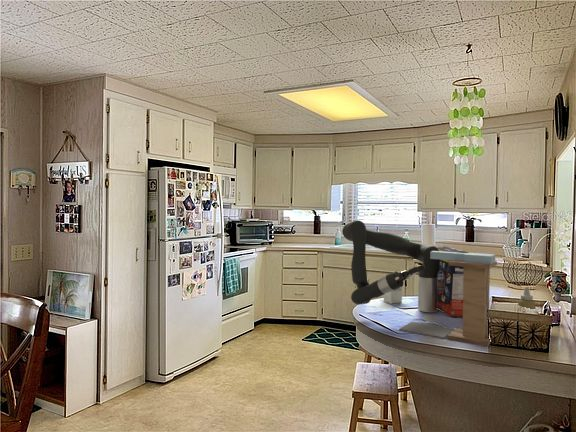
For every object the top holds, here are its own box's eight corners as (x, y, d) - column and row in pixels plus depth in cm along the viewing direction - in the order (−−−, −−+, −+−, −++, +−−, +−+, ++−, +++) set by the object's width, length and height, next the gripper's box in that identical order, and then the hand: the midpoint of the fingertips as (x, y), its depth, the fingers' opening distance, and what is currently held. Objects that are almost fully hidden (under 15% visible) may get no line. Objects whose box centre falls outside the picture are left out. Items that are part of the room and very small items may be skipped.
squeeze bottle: (531, 331, 183) (532, 289, 183) (512, 327, 190) (512, 286, 189) (540, 328, 188) (541, 287, 187) (521, 324, 194) (521, 284, 194)
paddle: (434, 257, 186) (434, 250, 186) (495, 261, 172) (495, 254, 172) (428, 259, 179) (428, 252, 179) (491, 264, 165) (491, 256, 165)
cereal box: (472, 318, 205) (476, 251, 204) (449, 317, 205) (452, 250, 204) (450, 306, 231) (453, 246, 231) (430, 305, 231) (432, 245, 231)
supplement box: (391, 303, 234) (391, 280, 234) (383, 301, 241) (383, 278, 241) (402, 302, 237) (402, 279, 236) (394, 300, 244) (394, 277, 243)
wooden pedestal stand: (457, 330, 184) (458, 258, 183) (495, 337, 175) (496, 261, 174) (447, 338, 172) (448, 261, 172) (487, 346, 164) (489, 264, 163)
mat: (411, 322, 196) (411, 321, 196) (455, 330, 185) (455, 328, 185) (399, 330, 184) (399, 328, 184) (444, 338, 173) (444, 337, 173)
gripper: (379, 277, 189) (411, 261, 181) (392, 273, 201) (422, 258, 192) (387, 292, 187) (419, 277, 179) (400, 287, 199) (430, 273, 190)
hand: (421, 267), depth 185 cm, fingers open, 8 cm apart
